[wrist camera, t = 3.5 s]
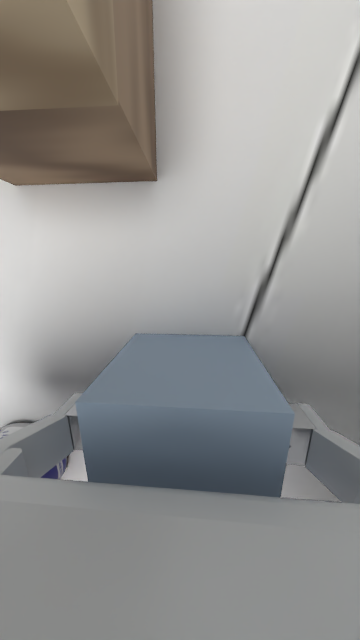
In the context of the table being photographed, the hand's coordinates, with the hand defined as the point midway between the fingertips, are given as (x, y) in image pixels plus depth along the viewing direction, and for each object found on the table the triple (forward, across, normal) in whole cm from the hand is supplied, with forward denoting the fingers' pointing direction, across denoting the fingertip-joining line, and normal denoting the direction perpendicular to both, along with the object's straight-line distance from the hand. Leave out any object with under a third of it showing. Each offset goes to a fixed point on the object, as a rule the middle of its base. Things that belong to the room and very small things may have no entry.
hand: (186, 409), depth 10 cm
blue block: (+2, 0, 0) cm, 2 cm away
